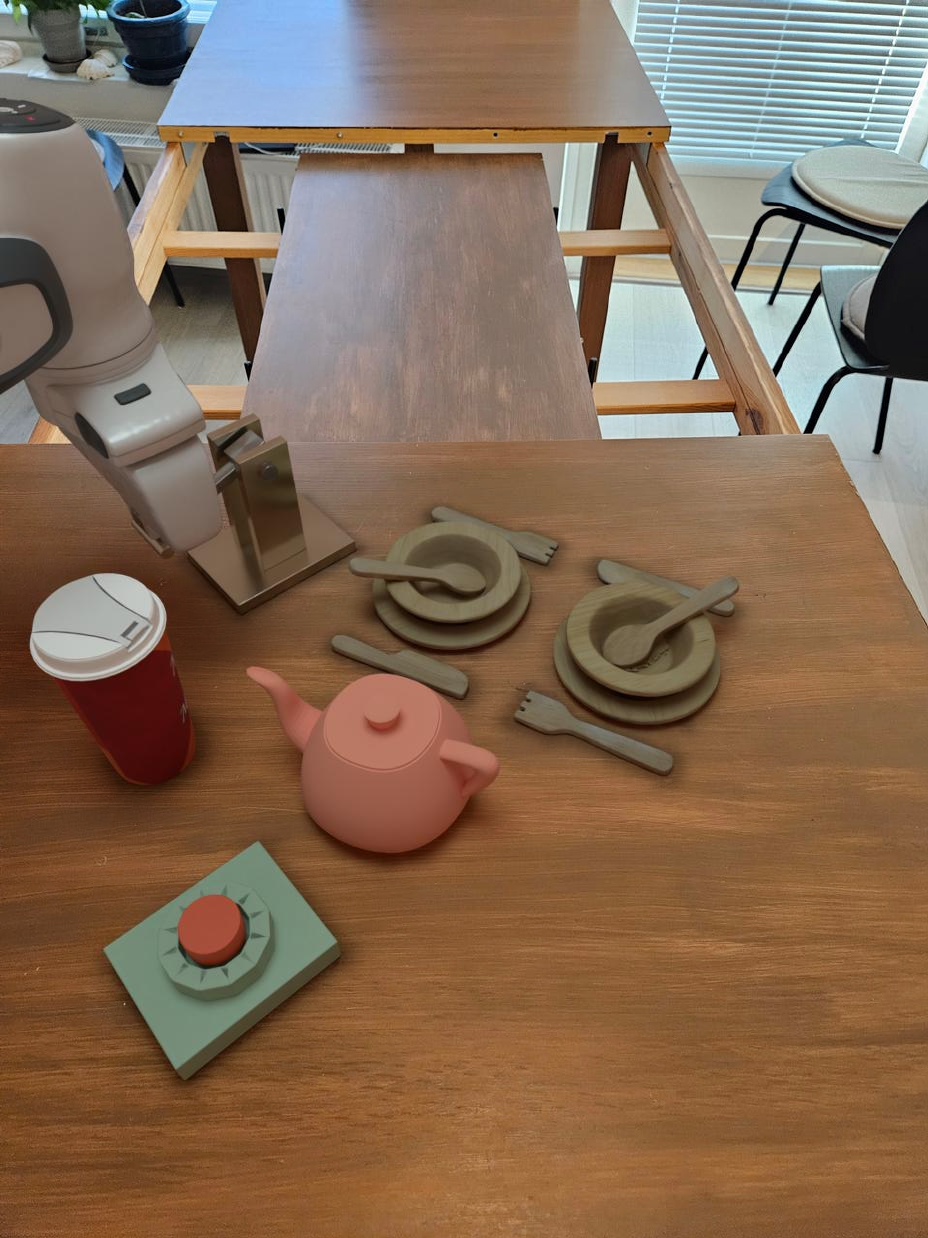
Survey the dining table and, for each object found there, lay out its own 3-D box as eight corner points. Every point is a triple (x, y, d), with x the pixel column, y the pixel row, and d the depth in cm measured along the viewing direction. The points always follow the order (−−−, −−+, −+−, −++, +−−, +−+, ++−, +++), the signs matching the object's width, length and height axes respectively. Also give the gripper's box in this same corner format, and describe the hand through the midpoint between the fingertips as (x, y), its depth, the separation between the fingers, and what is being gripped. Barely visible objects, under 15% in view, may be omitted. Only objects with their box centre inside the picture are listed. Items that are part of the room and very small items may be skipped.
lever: (170, 566, 69) (154, 549, 67) (140, 534, 72) (123, 516, 70) (286, 468, 72) (274, 449, 70) (253, 440, 74) (240, 420, 72)
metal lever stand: (241, 615, 75) (208, 497, 65) (188, 559, 79) (150, 441, 70) (356, 550, 80) (341, 432, 71) (300, 501, 85) (279, 384, 75)
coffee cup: (234, 728, 67) (187, 590, 56) (166, 816, 62) (100, 684, 51) (144, 691, 70) (83, 551, 58) (72, 773, 65) (-11, 638, 53)
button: (204, 979, 51) (197, 967, 50) (173, 933, 53) (166, 920, 52) (257, 938, 53) (252, 926, 51) (226, 895, 55) (220, 882, 53)
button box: (184, 1081, 51) (167, 1060, 48) (112, 962, 55) (92, 936, 52) (341, 955, 56) (334, 929, 53) (263, 855, 60) (253, 826, 57)
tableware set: (324, 649, 72) (315, 598, 68) (434, 505, 84) (432, 455, 80) (680, 786, 64) (696, 739, 59) (746, 605, 75) (764, 554, 71)
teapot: (464, 899, 58) (464, 827, 51) (227, 808, 63) (196, 730, 56) (526, 753, 66) (532, 673, 58) (310, 682, 70) (292, 599, 63)
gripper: (-11, 326, 63) (57, 480, 73) (122, 462, 52) (180, 619, 63) (74, 296, 65) (128, 448, 76) (216, 419, 55) (257, 577, 65)
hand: (152, 527), depth 69 cm, fingers closed, pressing on lever
